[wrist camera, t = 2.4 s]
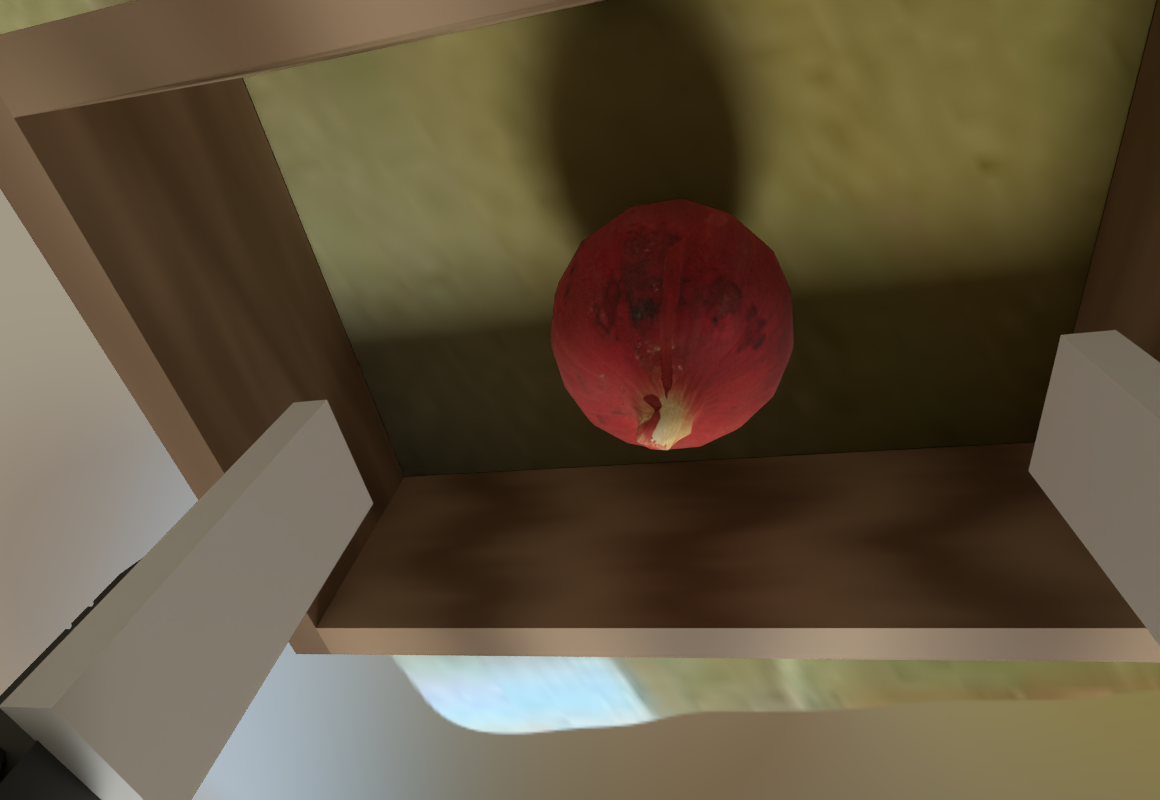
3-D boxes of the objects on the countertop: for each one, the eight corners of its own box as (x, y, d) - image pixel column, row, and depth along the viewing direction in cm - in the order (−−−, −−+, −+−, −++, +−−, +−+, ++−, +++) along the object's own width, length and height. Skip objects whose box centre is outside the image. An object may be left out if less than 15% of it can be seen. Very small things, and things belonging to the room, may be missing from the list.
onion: (554, 191, 18) (476, 307, 11) (766, 149, 16) (823, 252, 10) (596, 369, 21) (555, 547, 14) (779, 346, 19) (830, 530, 13)
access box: (1284, -221, 12) (1886, -441, 6) (1080, 469, 20) (1244, 663, 14) (183, 36, 17) (-84, 55, 11) (386, 501, 25) (296, 654, 19)
